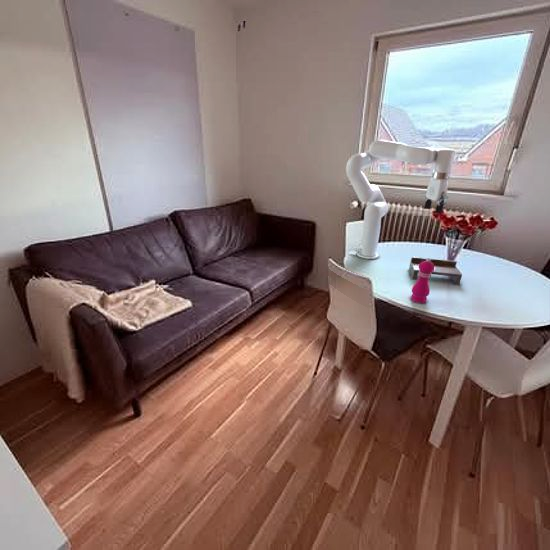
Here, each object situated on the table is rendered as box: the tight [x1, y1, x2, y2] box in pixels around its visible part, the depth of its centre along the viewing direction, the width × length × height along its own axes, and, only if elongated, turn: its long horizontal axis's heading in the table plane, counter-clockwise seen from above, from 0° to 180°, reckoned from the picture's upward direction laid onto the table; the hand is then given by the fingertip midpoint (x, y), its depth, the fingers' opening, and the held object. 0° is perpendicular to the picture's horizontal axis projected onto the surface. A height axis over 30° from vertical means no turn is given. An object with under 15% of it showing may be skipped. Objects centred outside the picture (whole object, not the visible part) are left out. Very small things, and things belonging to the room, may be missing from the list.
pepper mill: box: [410, 257, 434, 304], centre depth 134 cm, size 7×7×20 cm
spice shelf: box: [408, 256, 463, 285], centre depth 160 cm, size 22×12×8 cm, turn 77°
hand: (432, 210), depth 159 cm, fingers open, 9 cm apart
